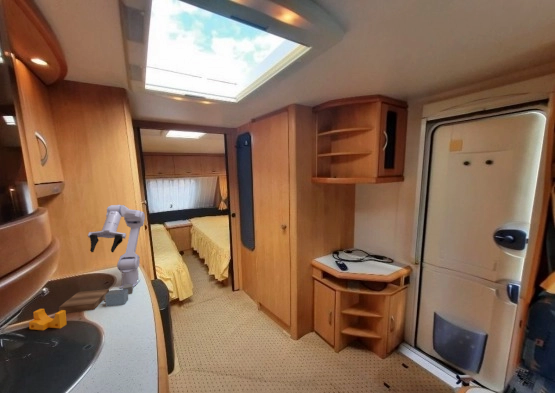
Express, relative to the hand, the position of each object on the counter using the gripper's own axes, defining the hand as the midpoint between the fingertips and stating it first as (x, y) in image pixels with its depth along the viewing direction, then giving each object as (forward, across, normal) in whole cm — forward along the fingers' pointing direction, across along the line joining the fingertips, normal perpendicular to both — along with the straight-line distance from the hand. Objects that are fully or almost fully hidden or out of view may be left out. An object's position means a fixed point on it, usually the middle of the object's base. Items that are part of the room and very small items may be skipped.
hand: (102, 251), depth 101 cm
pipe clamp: (+26, -15, +19) cm, 35 cm away
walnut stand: (+14, -8, +30) cm, 34 cm away
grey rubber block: (+9, +8, +32) cm, 35 cm away
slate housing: (+16, +6, +25) cm, 31 cm away
